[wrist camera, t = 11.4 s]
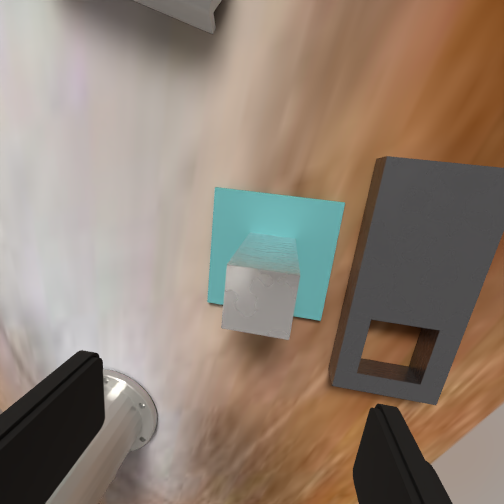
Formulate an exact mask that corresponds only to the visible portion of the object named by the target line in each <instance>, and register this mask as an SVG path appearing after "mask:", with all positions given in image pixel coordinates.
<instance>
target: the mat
mask: <svg viewBox="0 0 504 504" xmlns="http://www.w3.org/2000/svg"><path fill="white" fill-rule="evenodd" d="M344 206H345V203H344V202H336V201H328V200H319V199H311V198H302V197H294V196H285V195H277V194H269V193H260V192H252V191H243V190H235V189H227V188H218V187H215V196H214V211H213V226H212V241H211V256H210V271H209V286H208V301H207V302H209V303H215V304H221V305H223V303H224V292H225V280H226V269H227V264H228V262H229V261H230V259H231V258H232V257H233V255H234V254H235V252H236V251H237V250H238V248H239V247H240V245H241V244H242V243H243V241H244V240H245V239H246V237H247V236H248V234H249V233H250V232H251V233H259V234H266V235H273V236H281V237H288V238H295V239H296V247H297V254H298V262H299V269H300V280H299V286H298V291H297V297H296V303H295V309H294V314H293V316H295V317H301V318H307V319H313V320H319V321H321V317H322V312H323V307H324V302H325V298H326V293H327V288H328V283H329V278H330V273H331V269H332V264H333V259H334V254H335V249H336V244H337V239H338V235H339V230H340V225H341V220H342V215H343V210H344Z"/></svg>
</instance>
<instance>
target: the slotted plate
mask: <svg viewBox="0 0 504 504" xmlns="http://www.w3.org/2000/svg"><path fill="white" fill-rule="evenodd" d="M503 231H504V168H498V167H488V166H478V165H468V164H458V163H448V162H438V161H428V160H419V159H409V158H399V157H389V156H386V157H382V158H378V159H376V164H375V168H374V172H373V177H372V181H371V186H370V190H369V194H368V199H367V203H366V207H365V212H364V216H363V220H362V225H361V229H360V234H359V238H358V242H357V247H356V251H355V255H354V260H353V264H352V268H351V273H350V277H349V281H348V286H347V290H346V295H345V299H344V303H343V308H342V312H341V316H340V321H339V325H338V329H337V334H336V338H335V343H334V347H333V351H332V356H331V360H330V364H329V373H330V378H331V383H332V386H336V387H341V388H347V389H352V390H357V391H363V392H368V393H374V394H379V395H384V396H390V397H395V398H400V399H406V400H411V401H416V402H422V403H427V404H433V405H436V404H437V402H438V399H439V397H440V394H441V391H442V389H443V386H444V384H445V381H446V379H447V376H448V373H449V371H450V368H451V366H452V363H453V360H454V358H455V355H456V353H457V350H458V348H459V345H460V342H461V340H462V337H463V335H464V332H465V330H466V327H467V324H468V322H469V319H470V317H471V314H472V311H473V309H474V306H475V304H476V301H477V299H478V296H479V293H480V291H481V288H482V286H483V283H484V280H485V278H486V275H487V273H488V270H489V268H490V265H491V262H492V260H493V257H494V255H495V252H496V249H497V247H498V244H499V242H500V239H501V237H502V234H503ZM371 319H372V320H378V321H384V322H390V323H397V324H403V325H409V326H415V327H422V329H421V332H420V335H419V338H418V341H417V344H416V347H415V350H414V353H413V356H412V360H411V363H410V366H409V367H407V366H401V365H396V364H390V363H384V362H378V361H373V360H367V359H361V355H362V352H363V348H364V344H365V341H366V337H367V333H368V329H369V326H370V322H371Z"/></svg>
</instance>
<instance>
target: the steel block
mask: <svg viewBox="0 0 504 504" xmlns="http://www.w3.org/2000/svg"><path fill="white" fill-rule="evenodd" d="M299 280H300V269H299V262H298V254H297V247H296V239H295V238H288V237H281V236H273V235H266V234H259V233H251V232H250V233H249V234H248V236H247V237H246V239H245V240H244V241H243V243H242V244H241V245H240V247H239V248H238V250H237V251H236V252H235V254H234V255H233V257H232V258H231V259H230V261H229V262H228V264H227V269H226V280H225V292H224V303H223V315H222V326H221V328H223V329H229V330H235V331H241V332H246V333H252V334H258V335H264V336H269V337H275V338H281V339H287V340H289V337H290V332H291V326H292V320H293V314H294V309H295V303H296V297H297V291H298V286H299Z"/></svg>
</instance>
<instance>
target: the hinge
mask: <svg viewBox="0 0 504 504" xmlns="http://www.w3.org/2000/svg"><path fill="white" fill-rule="evenodd" d="M133 1H135V2H138V3H140V4H142V5H145V6H147V7H150V8H152V9H154V10H157V11H159V12H161V13H164V14H166V15H168V16H171V17H173V18H175V19H178V20H180V21H183V22H185V23H187V24H190V25H192V26H194V27H197V28H199V29H201V30H204V31H206V32H208V33H211V34H213V33H214V31H215V29H216V27H215V20H214V13H213V12H214V11H215V9H216V8H217V6H218V5H219V4H220V2H221V1H222V0H133Z"/></svg>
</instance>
